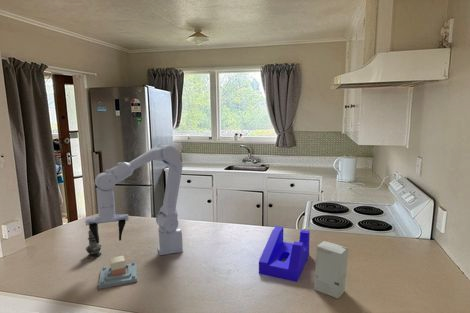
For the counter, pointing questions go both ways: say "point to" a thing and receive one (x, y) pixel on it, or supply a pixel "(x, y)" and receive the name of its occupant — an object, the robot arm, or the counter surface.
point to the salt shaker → (93, 247)
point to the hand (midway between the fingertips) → (109, 241)
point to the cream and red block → (118, 266)
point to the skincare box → (331, 269)
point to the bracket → (284, 256)
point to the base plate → (109, 281)
